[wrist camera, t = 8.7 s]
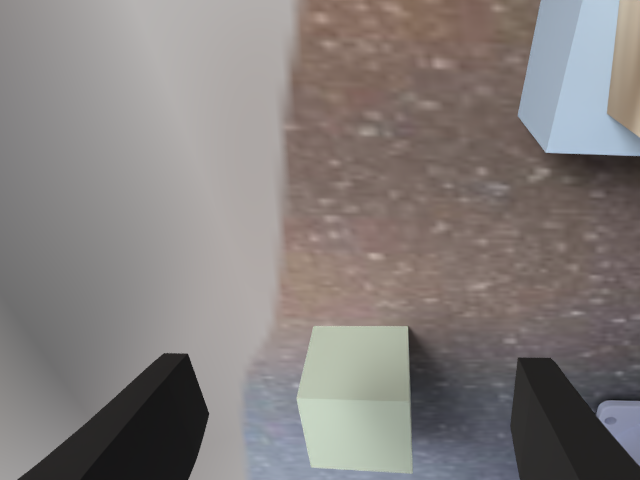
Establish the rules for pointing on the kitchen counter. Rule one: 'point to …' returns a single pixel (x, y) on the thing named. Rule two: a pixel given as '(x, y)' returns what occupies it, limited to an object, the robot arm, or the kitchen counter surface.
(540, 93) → the blue base block
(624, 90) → the birch block
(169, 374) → the robot arm
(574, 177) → the kitchen counter surface
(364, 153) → the kitchen counter surface
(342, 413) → the sage green block
